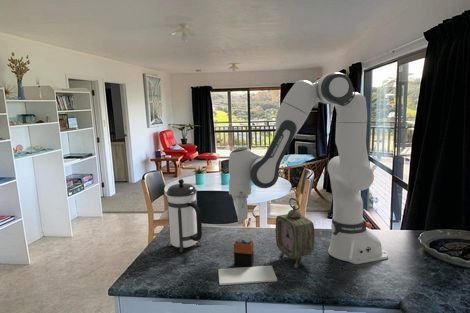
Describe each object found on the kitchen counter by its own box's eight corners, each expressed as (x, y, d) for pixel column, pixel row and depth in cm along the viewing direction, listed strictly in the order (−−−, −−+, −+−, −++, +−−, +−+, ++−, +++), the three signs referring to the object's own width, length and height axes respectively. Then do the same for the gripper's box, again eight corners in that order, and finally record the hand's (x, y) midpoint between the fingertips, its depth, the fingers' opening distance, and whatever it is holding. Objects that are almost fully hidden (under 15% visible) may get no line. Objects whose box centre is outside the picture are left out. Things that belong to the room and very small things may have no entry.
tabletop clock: (275, 255, 132) (275, 195, 128) (294, 250, 135) (295, 192, 131) (295, 271, 118) (295, 205, 115) (315, 266, 122) (316, 201, 118)
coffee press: (161, 254, 135) (156, 183, 131) (173, 238, 151) (169, 175, 146) (202, 255, 133) (199, 184, 129) (209, 239, 149) (207, 175, 144)
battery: (251, 268, 122) (251, 243, 120) (234, 266, 123) (233, 241, 122) (254, 262, 126) (253, 238, 124) (237, 261, 128) (236, 236, 126)
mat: (271, 267, 122) (271, 265, 122) (277, 281, 112) (277, 279, 112) (218, 270, 121) (218, 269, 120) (219, 285, 111) (219, 283, 111)
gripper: (251, 196, 118) (251, 232, 120) (245, 182, 138) (245, 214, 140) (234, 196, 117) (234, 233, 119) (230, 183, 137) (230, 214, 140)
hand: (240, 222), depth 130 cm, fingers closed
